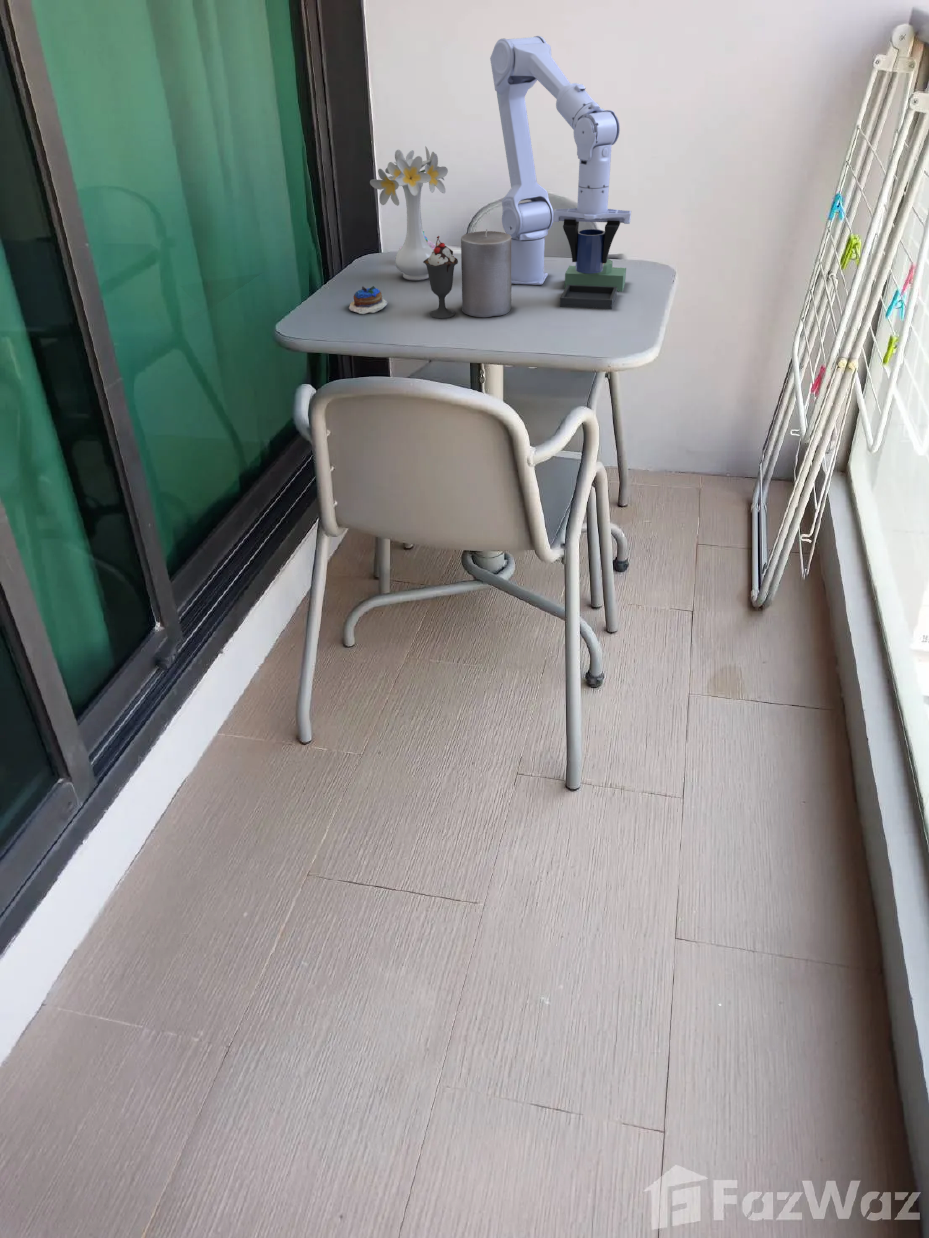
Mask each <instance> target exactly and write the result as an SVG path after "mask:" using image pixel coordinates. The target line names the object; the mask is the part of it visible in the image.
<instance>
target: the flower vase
mask: <svg viewBox="0 0 929 1238" xmlns="http://www.w3.org/2000/svg"><path fill="white" fill-rule="evenodd" d="M424 148H425V155H426V160H423V157H422V156H421V155H417V156H415V150H410V151H409V152H408V153H407V154H406V156H405V155H404V153H403V151H402V150H400V149H396V150H395V152H394V160H395V161H394V162H392V161H390V162H388V163H387V167H386V168H385V169H384V170H385V171H384V170H383V169H382V168H378V169H377V173H378V177H379V179H375V178H374V179H370V181H369V184H370V186H371V187H372V188H373V189H375V190H378V191H379V190H380V191H381V192H380V194H379V204H380V205H381V206H385V205H387V203H388V201H389V199H390V200H391V202H392V203H393V204H394V205H395V206H397V207H398V206H400V200H399V196H398V194H397V190H398V189H399V187H402V189H403V193H404V198H405V204H406V234H405V239H404V242H403V245H402V246H400V247H401V249H400V248H399V249H400V250H399V249H398V251H397V253H396V255H395V258H394V259H395V260H394V264H395V266H396V268H397V269H398V270H399V272H400V273H402V277H403V278H404V279H405V280H408V281H424V280H427V279H428V280H429V275H428V270H427V266H426V264H425V263H423V261H425V260H426V259H427V258H429V257H430V256H431V254H432V252H433V249H432V248H431V247H430V246H429V245H428V243H427V241H426V239H425V237H424V235H425V233H424V234H423V231H424V230H423V222H422V220H423V219H422V209H421V198H422V197H421V196H422V190H423V189H422V188H423V186H424V184H426V183H427V184H428V188H429V192H430V193H434V192H435V190H436V188H437V189H438V191H439V192H440V193H442V194H445V193H446V187H445V184H444V183H443V181H445V177H446V176H447V175H448V172H449V169H448V168H447V167H446V166H439V158H438V155H437V153H435V152H434V151H431V154H430V151H429V149H428V147H427V146H426V145H425V147H424ZM414 156H415V157H414ZM423 168H424V169H423ZM421 169H422V170H421ZM388 175H390V176H388Z"/></svg>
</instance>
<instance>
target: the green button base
mask: <svg viewBox="0 0 929 1238" xmlns="http://www.w3.org/2000/svg"><path fill="white" fill-rule="evenodd" d="M613 264H614V263H613V260H611V259H610V258H607V262H606V263H604V264H603V271H601V272H599V273H593V274H586V273H580V272H577V271H576V265H569V266H568V268H567V270H566V271H565V274H564V289H565V288H566V286H567V285H587V286H610V287H617V292H619V293H620V292H621V293H622V292H624V288H625V285H626V276H627V267H613Z"/></svg>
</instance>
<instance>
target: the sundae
mask: <svg viewBox="0 0 929 1238" xmlns="http://www.w3.org/2000/svg"><path fill="white" fill-rule="evenodd" d="M437 243H438V246H437ZM435 244H436V247H435V248H434V250H433V252H432V254H431V256H430V257H429V258H427V259H426V260H425V261H423V263H425V264H426V266H427V270H428V275H429V278H428V283H429V285H430V290H431V291H432V293H433V294H435V295H436V296H437V298H438V307H437V309H436V310H433V311H431V312H430V313H429V316H430V318H431V317H432V318H435V319H449V318H452V317H454V316H455V315H456V312H455V311H453V310H451V309H447V306H446V296H448V295H449V294H450V293H451V291H452V290H453V283H454V271H455V267H456V266H457V265H458V263H459V259H458V258H456V257H455V256H454V251H453V250H452V249H451V248H449V247H448V246H447V245H446V243H445V242H441V240H440V236H439V235H438V236H437V237H436V243H435Z"/></svg>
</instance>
